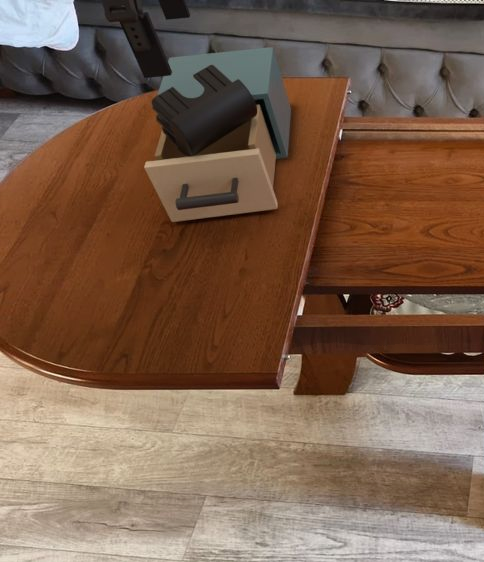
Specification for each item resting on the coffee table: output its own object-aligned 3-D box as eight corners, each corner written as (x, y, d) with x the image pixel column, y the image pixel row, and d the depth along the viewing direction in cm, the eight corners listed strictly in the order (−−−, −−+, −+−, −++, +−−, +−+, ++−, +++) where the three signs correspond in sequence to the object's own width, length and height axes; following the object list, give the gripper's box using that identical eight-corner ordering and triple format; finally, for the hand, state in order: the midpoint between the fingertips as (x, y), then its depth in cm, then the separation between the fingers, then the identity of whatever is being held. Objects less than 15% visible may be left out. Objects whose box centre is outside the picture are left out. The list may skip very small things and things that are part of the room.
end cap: (196, 169, 84) (187, 137, 78) (157, 132, 85) (145, 97, 79) (260, 127, 89) (256, 94, 83) (222, 93, 90) (216, 57, 84)
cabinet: (287, 158, 98) (267, 93, 90) (183, 170, 96) (153, 105, 89) (291, 109, 106) (273, 46, 99) (195, 120, 105) (169, 57, 97)
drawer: (275, 230, 86) (255, 175, 80) (166, 244, 85) (137, 189, 78) (281, 156, 97) (264, 102, 90) (184, 168, 95) (160, 114, 89)
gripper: (72, -207, 69) (154, -1, 85) (-13, -134, 52) (109, 107, 68) (148, -212, 70) (216, -6, 85) (89, -141, 53) (187, 99, 68)
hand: (169, 44), depth 76 cm, fingers open, 13 cm apart
